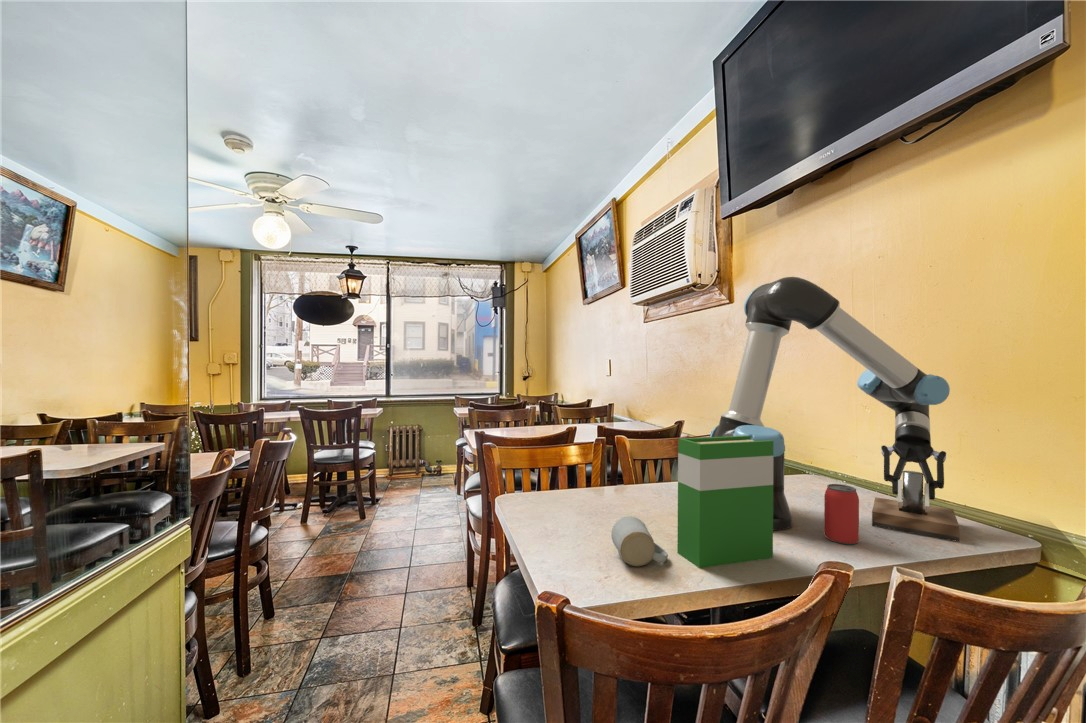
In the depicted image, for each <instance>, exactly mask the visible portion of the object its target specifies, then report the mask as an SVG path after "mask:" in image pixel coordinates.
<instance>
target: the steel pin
mask: <svg viewBox="0 0 1086 723" xmlns="http://www.w3.org/2000/svg"><path fill="white" fill-rule="evenodd" d="M902 501H903V512H909V513H915V514H922V515H923V505H924V475H923V473H922V472H920V471H913V470H903V472H902Z"/></svg>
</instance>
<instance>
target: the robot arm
mask: <svg viewBox="0 0 1086 723" xmlns="http://www.w3.org/2000/svg"><path fill="white" fill-rule="evenodd" d="M743 304H744V306H743V307H744V308H743V311H744V314H745V316H746V318H745V319H746V320H745V322H744V326H745V328H747V330H748V335H747V339H746V343H745V346H744V350H743V354H742V358H741V361H740V366H739V370H738V373H737V376H736V381H735V383H734V384H735V385H734V389H733V391H732V392H733V393H732V396H731V399H730V404H729V407H728V410H727V411H726V412H724V413H722V414H721V415H720V420H719V422H718V423H719V424H718V425H717V426H715V427H714V428H713V429H712V430H711V432H710V434H709V437H727V436H751V440H753V441H766V440H771V441H773V531H781V530H786V529H789V528H791V527H792V526H793V516H792V515H793V514H792V512H791V510H790V506H789V504H788V501H787V500H788V499H787V497H786V495H785V454H786V453H785V451H786V444H785V438H784V435H783V434H782V433H781V432H780V431H779V430H777V429H775V428H772V427H768V426H765V425H764V423H763V422H762V420H761V416H762V413H763V410H764V405H765V401H766V397H767V394H768V390H769V386H770V381H771V379H772V374H773V371H774V366H775V364H776V359H777V356H778V351H779V348H780V345H781V341H782V338H783V337H785V336H786V335H788V334H789V332H790V331H791V326H792V323H793V322H796V323H798V324H801V325H803V326H804V327H806V328H807V329H808V330H810V331H811V330H816V331H817V332H818V333H820V334H821V335H822V336H824V337H825V338H826V339H828V340H829V341H830V342H832V343H833V344H835V345H836V346H837V347H838V348H839V349H841V350H842V351H843V352H844V353H846V354H847V355H849V356H850V357H851V358H853V359H854V360H855V361H856V362H858V363H859V364H860V365H862V366H863V367H864V368H866V369H865V370H864V371H863V372H861V373H860V376H859V377H858V379H857V381H856V382H857V387H858V388H859V389H860V390H861V391H863V393H865V394H866V395H868V396H869V397H872V398H873V399H875V400H876V401H878V402H880V403H882V404H883V405H884V406H886V407H888V408H889V409H891V410H893V411H894V413H895V414H894V415H895V416H894V420H895V421H894V431H895V432H894V443H893V445H891V446H886V445H881V449H880V450H881V454H882V456H883V480H884V481H885V482H889V483H891V487H892V489H891V491H892V494H893V495H897V501H898V508H902V501H903V479H902V478H901V477H902V476H903V471H905V470H904V469H905V466H906V465H907V463H916V464H918V465H919V468H920V470H921V473H923V479H924V481H925V483H924V486H923V495H924V505H925V512H928V513H929V506H930V500H934V501H935V499H936V489H940V490H941V489H944V487H945V472H944V471H945V469H944V468H945V466H944V464H945V461H946V459H947V452H946V451H944V450H942V451H937V450H935V449H934V448H933V447H932V440H931V438H932V437H931V420H930V418H931V417H930V406H938V405H940V404H942V403H944V402H945V401H947V399H948V398H949V396H950V391H951V390H950V389H951V388H950V384H949V383H948V382H947V380H946V379H945V378H944V377H942V376H939V375H934V374H926V372H924V371H922V370H921V369H920V368H918V367H917V366H916V365H914V364H913V363H912V362H910V360H908V359H907V358H905V357H904V356H903V355H902V354H900V353H899V352H898V351H896V350H895V349H894V348H893V347H891V345H889V344H888V343H887V342H885V341H884V340H882V339H881V338H880V337H878V336H877V335H876V334H875V333H873V332H872V331H871V330H870V329H869V328H867V327H866V326H865V325H863V324H862V323H861V322H859V321H858V320H857V319H856V318H854V316H852V315H850V314H849V313H848V312H847V311H845V310H844V309H843V308H842V307H840V306H841V305H840V304H841V303H840V301H839V300H838V299H837V298H836V297H834V296H833V295H832V294H831V293H830V292H828V291H826V290H825V289H824V288H822V287H820V286H819V285H817V284H815V283H814V282H811V281H810V280H807V279H805V278H801V277H796V276H787V277H782V278H779V279H777V280H775V281H772V282H768V283H764V284H761V285H760V286H758V287H756V288H755V289H754V290H752V291H751V292H750V293H749V294H748V295H747V297H746V299H745V302H744V303H743ZM893 453H895V455H897V456H898V458H899V459H898V461H897V464H896V467H895V469H894V472H893V474H890V472H891V471H890V470H891V467H890V466H891V463H890V462H891V459H890V457H891V456H892V454H893ZM932 456H933V458H934V460H935V461H936V480H935V479H934V478H933V477H934V476H933V474H932V472H931V469H930V467H929V463H928V461H927V460H928V459H929V458H931V457H932Z"/></svg>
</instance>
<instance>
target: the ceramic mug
mask: <svg viewBox="0 0 1086 723" xmlns="http://www.w3.org/2000/svg"><path fill="white" fill-rule="evenodd" d="M611 528H612V530H611V540H612V543H613V545H614V546H615V549H616V550H617V552H618V554H619V556H620V557H621V559H622V560H623V561H624V562H625V563H626V564H628V565H629V566H633V567H643V566H645V565H647V564H649V563H650V562H651V561H652V560H654V561H656V562H658V563H661V564H662V563H666V561H667V559H668V557H669V554H668V552H667V551H666V550H665V549H663V547H661V545H658V544H657V543H655V541H654V538H653V536H652V534H651V533H650V532H649V530H648V528H647V526H646V524H645V523H644V522H643V521H642V520H641V519H640V518H638V517H637V516H632V515H631V516H630V515H627V516H624V517H621V518H619V519H617V520H616V521H615V523H614V525H613V526H612V527H611Z"/></svg>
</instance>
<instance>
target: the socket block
mask: <svg viewBox="0 0 1086 723" xmlns="http://www.w3.org/2000/svg"><path fill="white" fill-rule="evenodd" d="M871 525H872V526H873V527H878V528H882V529H883V528H884V529H888V530H893V531H898V532H899V531H900V532H904V533H905V532H906V533H910V534H916V535H920V536H925V535H926V537H931V536H932V537H931V538H936V537H938V538H937V539H941V538H944V539H943V540H947V539H950V540H949V541H952V540H956V541H955V542H958V541H959V542H960V524H959V522H958V519H957V516H956V514H955V510H954V509H953V508H947V507H940V506H936V505H935V506H934V505H929V513H928V512H925V504H923V515H922V514H915V513H909V512H903V500H902V508H898V500H895V499H887V498H882V497H877V496H876V497H874V501H873V506H872V511H871Z"/></svg>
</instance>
